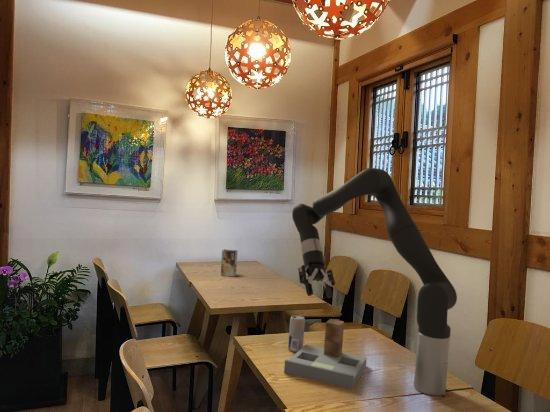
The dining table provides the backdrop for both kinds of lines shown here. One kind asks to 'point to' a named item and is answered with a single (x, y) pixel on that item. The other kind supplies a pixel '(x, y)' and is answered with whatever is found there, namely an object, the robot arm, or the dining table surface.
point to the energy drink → (296, 333)
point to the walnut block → (333, 338)
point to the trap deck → (326, 366)
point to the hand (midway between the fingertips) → (320, 296)
